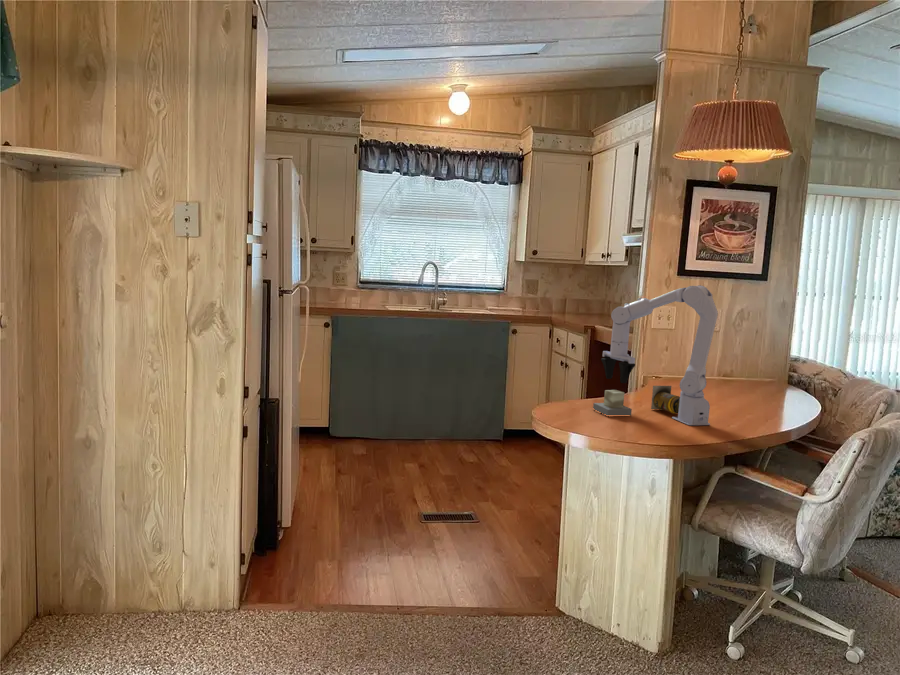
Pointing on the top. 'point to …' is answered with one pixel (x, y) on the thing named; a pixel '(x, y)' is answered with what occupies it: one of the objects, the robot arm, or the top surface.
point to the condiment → (665, 399)
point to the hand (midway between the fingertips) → (616, 380)
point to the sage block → (614, 398)
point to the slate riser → (611, 409)
